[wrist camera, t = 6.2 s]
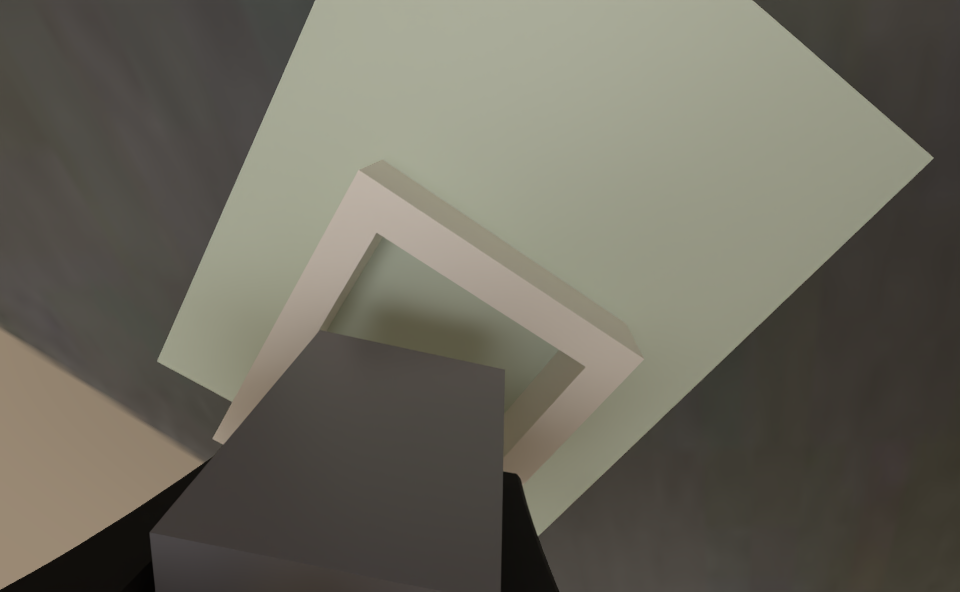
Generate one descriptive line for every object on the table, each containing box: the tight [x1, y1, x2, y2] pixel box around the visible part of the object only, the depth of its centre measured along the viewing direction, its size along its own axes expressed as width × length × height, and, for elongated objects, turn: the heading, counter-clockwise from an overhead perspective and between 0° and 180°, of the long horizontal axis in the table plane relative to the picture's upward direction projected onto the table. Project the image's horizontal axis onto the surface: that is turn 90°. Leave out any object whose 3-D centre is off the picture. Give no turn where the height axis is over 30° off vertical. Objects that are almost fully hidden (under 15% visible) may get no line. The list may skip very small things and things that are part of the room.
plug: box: [149, 330, 505, 592], centre depth 9 cm, size 4×6×5 cm, turn 168°
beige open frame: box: [213, 160, 644, 486], centre depth 13 cm, size 8×9×2 cm
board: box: [157, 0, 933, 536], centre depth 13 cm, size 14×17×1 cm
